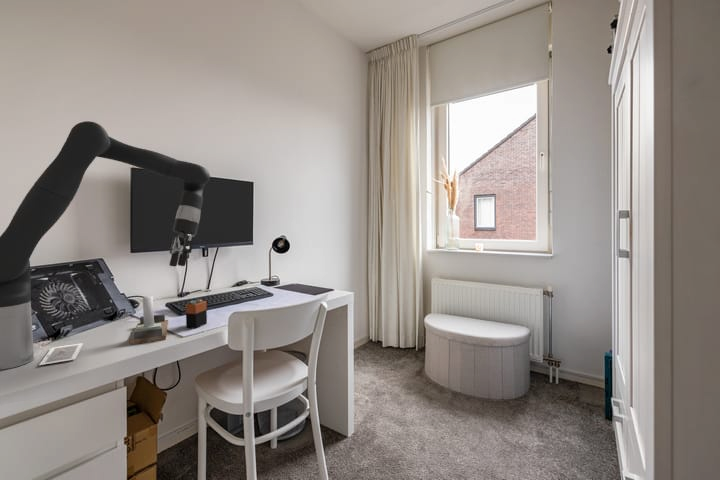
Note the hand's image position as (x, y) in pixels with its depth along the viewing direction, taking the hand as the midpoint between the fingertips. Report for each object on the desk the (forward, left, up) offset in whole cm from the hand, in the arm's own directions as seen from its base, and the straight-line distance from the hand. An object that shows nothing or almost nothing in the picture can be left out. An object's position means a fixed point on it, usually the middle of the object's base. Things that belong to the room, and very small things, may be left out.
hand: (176, 265), depth 116 cm
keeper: (-9, +4, -23) cm, 25 cm away
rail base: (-9, +10, -25) cm, 29 cm away
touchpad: (-31, -1, -26) cm, 40 cm away
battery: (+6, +12, -25) cm, 29 cm away
